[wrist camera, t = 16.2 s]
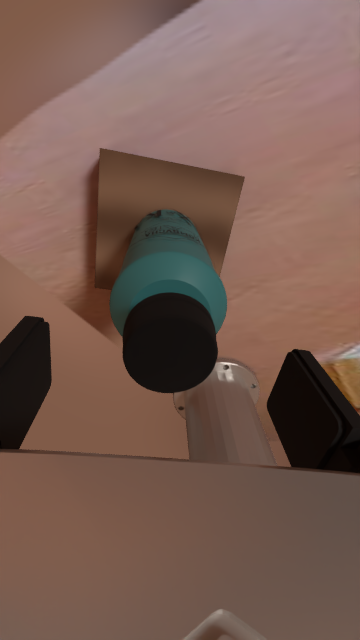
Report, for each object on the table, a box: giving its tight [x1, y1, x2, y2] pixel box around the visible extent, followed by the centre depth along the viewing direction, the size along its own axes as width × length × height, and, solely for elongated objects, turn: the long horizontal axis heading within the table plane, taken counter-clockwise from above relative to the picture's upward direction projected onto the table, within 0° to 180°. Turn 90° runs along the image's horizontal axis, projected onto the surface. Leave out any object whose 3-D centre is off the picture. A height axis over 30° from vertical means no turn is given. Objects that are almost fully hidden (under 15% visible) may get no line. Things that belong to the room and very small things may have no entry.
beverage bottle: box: [110, 208, 227, 393], centre depth 20 cm, size 6×7×20 cm
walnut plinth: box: [95, 148, 245, 290], centre depth 30 cm, size 13×13×3 cm
